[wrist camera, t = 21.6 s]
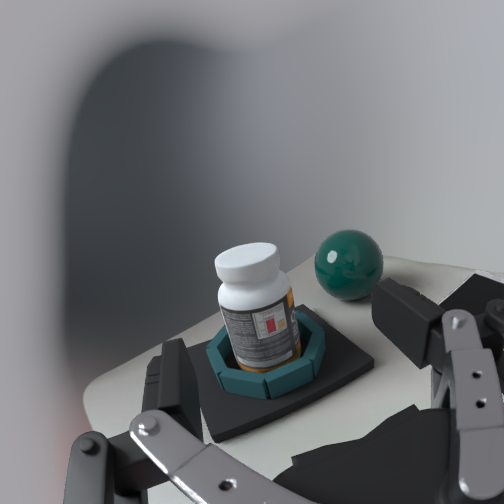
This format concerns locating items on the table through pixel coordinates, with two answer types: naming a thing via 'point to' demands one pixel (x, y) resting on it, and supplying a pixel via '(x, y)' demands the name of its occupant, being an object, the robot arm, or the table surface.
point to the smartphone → (475, 293)
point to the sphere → (348, 264)
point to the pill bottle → (258, 307)
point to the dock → (272, 377)
